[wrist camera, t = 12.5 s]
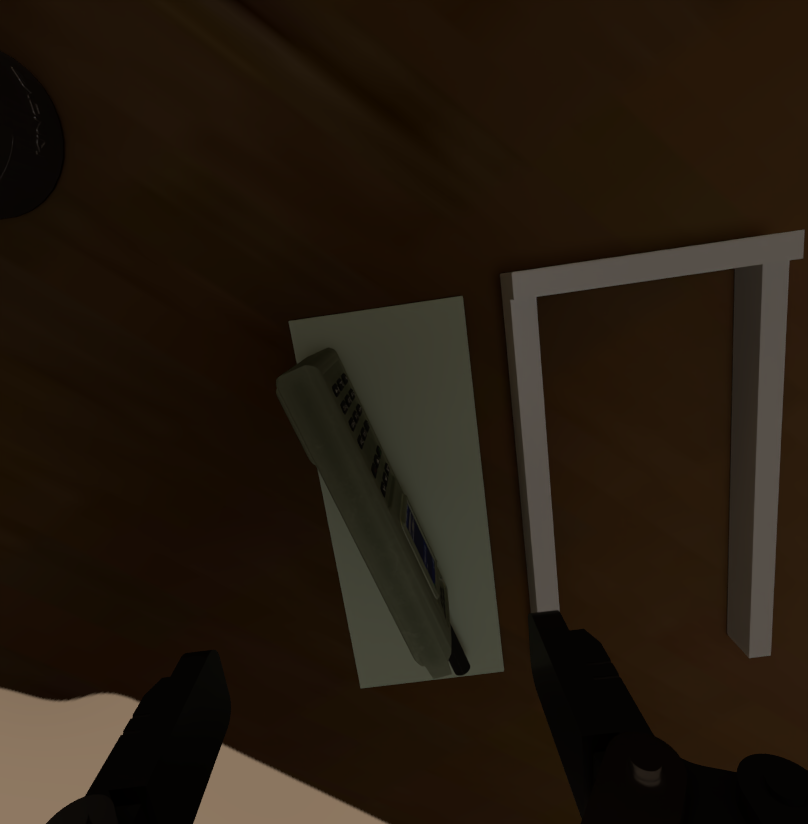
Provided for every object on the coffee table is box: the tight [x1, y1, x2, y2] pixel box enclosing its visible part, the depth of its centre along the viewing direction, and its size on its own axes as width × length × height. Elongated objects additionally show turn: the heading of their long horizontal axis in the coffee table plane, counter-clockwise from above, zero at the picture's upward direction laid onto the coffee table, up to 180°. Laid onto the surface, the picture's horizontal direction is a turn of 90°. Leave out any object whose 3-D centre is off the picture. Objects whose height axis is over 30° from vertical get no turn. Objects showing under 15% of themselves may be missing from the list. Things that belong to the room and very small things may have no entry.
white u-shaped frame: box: [500, 230, 804, 658], centre depth 33 cm, size 16×28×4 cm, turn 8°
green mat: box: [289, 296, 504, 688], centre depth 35 cm, size 11×28×1 cm, turn 8°
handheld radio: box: [276, 347, 470, 679], centre depth 32 cm, size 7×3×25 cm
